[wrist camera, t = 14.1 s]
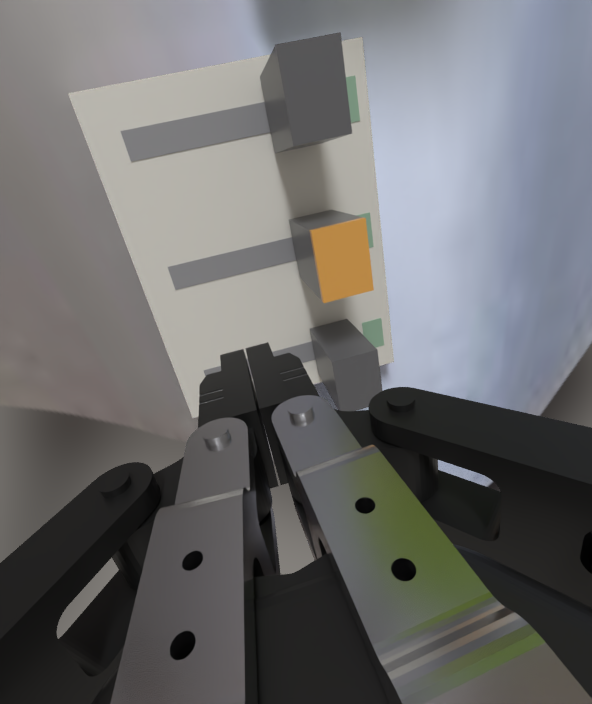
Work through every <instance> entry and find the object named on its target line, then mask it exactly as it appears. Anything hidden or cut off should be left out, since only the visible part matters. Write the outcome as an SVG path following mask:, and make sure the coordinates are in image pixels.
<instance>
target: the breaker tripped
mask: <svg viewBox="0 0 592 704" xmlns="http://www.w3.org/2000/svg"><path fill="white" fill-rule="evenodd" d="M289 224H290V229H291V234H292V239H293V244H294V249H295V255H296V260H297V265H298V270H299V275H300V278H301V279H302V280H303V281H304V282H305V283H306V285H307V286H308V287H309V288H310V289H311V290H312V291H313V292H314V293H315V294H316V295H317V297H318V298H319V299H320V300H321V301H322V302H323V303H327V302H330V301H334V300H338V299H342V298H346V297H350V296H354V295H357V294H361V293H365V292H369V291H373V290H374V287H373V278H372V269H371V260H370V252H369V243H368V234H367V225H366V218H364V217H360V216H356V215H352V214H348V213H343V212H339V211H335V210H327V211H323V212H319V213H315V214H310V215H306V216H302V217H298V218H293V219H289Z"/></svg>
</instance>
